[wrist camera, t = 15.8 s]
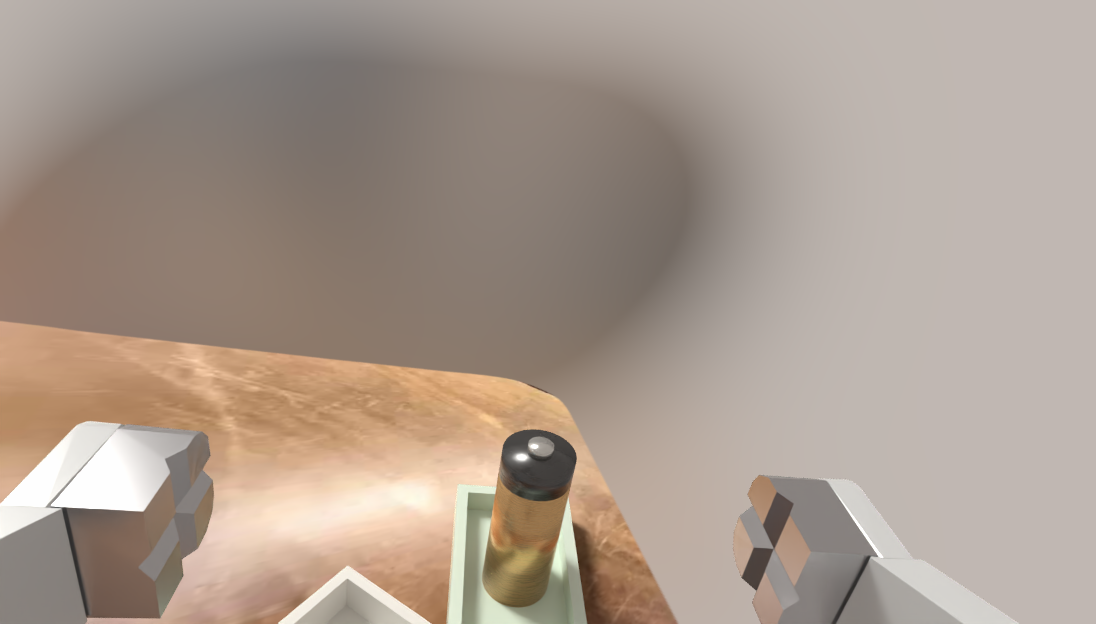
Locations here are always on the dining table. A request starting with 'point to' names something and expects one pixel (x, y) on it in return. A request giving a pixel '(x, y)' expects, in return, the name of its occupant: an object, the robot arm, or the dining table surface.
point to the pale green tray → (470, 607)
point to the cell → (527, 516)
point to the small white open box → (352, 604)
